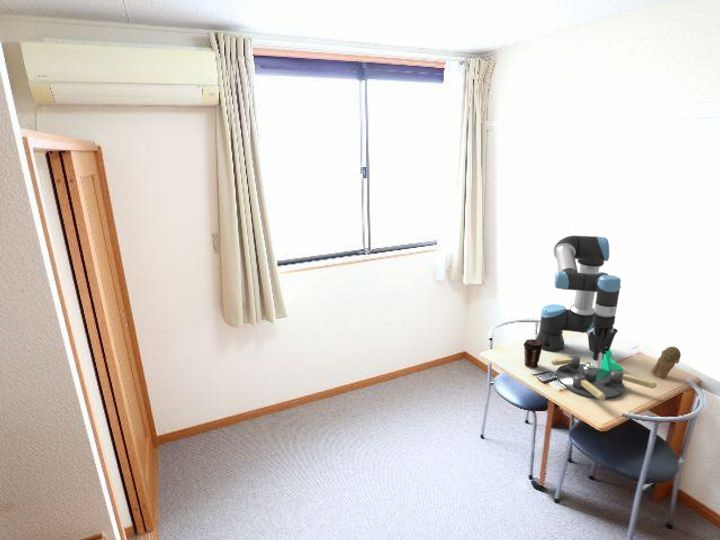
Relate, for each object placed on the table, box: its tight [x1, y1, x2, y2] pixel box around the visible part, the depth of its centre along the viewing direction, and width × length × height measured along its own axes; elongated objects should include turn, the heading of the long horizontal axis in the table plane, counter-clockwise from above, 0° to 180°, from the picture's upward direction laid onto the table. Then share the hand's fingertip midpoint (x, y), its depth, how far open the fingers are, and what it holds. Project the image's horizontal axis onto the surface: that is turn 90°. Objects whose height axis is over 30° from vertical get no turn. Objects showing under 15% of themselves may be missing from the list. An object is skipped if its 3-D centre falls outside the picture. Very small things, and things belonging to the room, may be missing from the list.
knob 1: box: [573, 374, 606, 401], centre depth 181 cm, size 18×5×5 cm, turn 10°
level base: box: [555, 361, 625, 400], centre depth 193 cm, size 28×28×10 cm
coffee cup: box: [523, 339, 543, 369], centre depth 209 cm, size 9×8×13 cm
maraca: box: [551, 354, 581, 369], centre depth 203 cm, size 14×5×5 cm, turn 100°
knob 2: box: [610, 370, 657, 390], centre depth 186 cm, size 18×5×5 cm, turn 49°
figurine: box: [650, 346, 682, 378], centre depth 196 cm, size 8×8×15 cm
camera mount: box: [601, 348, 624, 372], centre depth 206 cm, size 12×8×10 cm, turn 2°
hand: (596, 366), depth 172 cm, fingers closed
